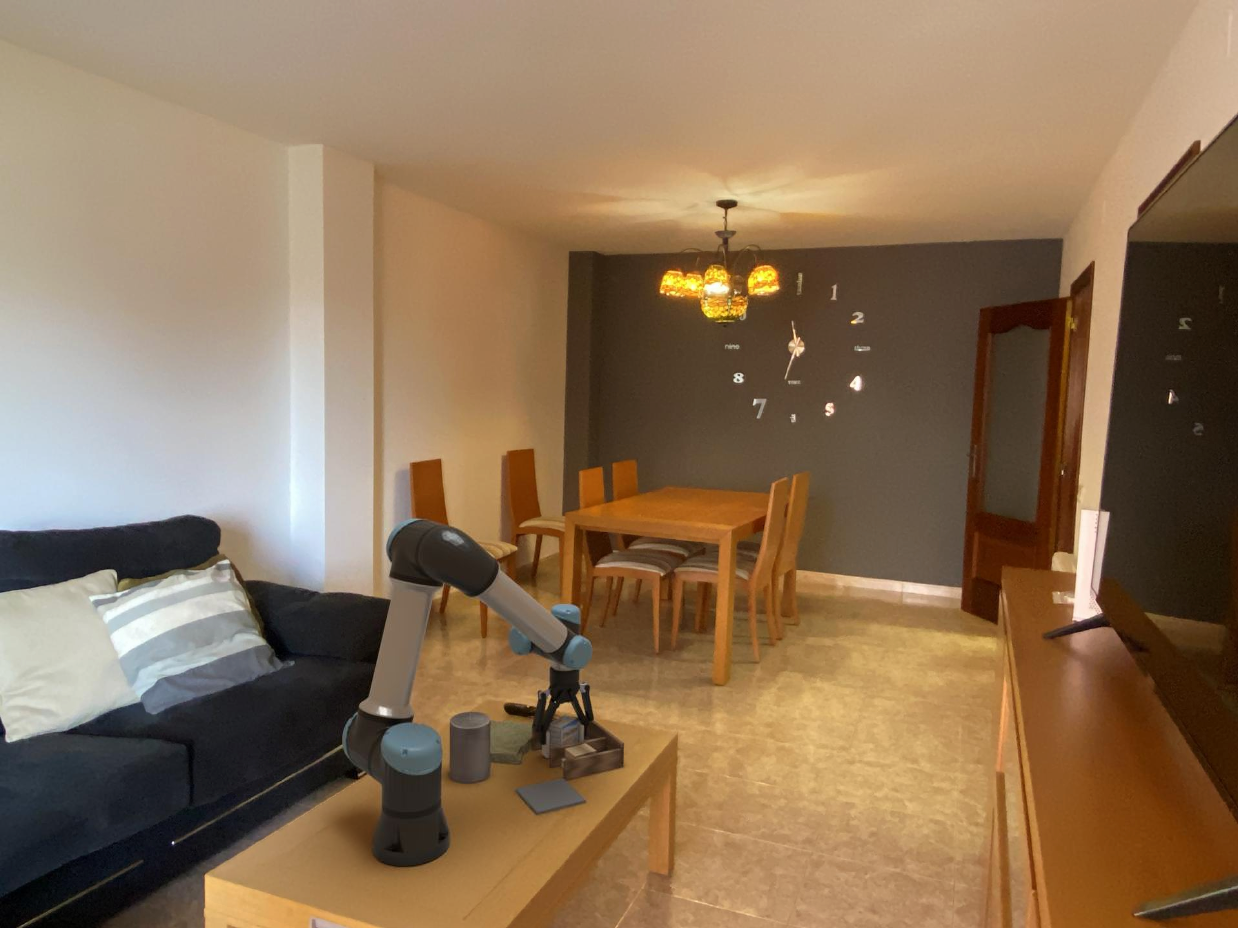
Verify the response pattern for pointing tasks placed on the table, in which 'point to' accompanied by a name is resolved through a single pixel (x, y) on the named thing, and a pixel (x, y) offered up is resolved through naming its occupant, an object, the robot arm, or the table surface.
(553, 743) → the medicine box
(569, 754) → the offcut short
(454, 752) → the pillar candle
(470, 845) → the table surface
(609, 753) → the rack
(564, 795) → the mat
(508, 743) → the green stone slab
